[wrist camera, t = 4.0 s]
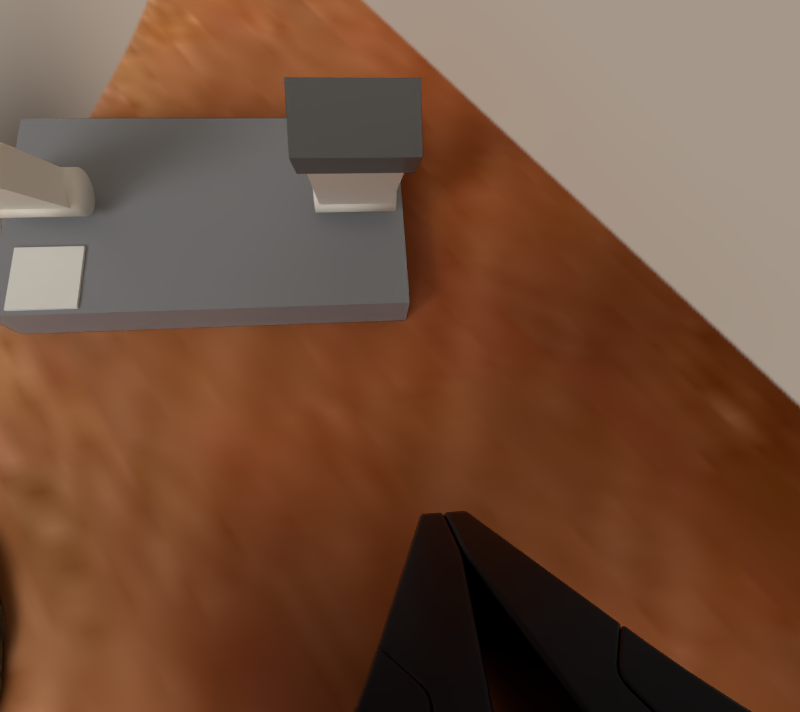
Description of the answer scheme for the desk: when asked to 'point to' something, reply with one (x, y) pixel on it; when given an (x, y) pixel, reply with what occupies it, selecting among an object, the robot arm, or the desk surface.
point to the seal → (1, 642)
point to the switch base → (193, 235)
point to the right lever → (354, 138)
